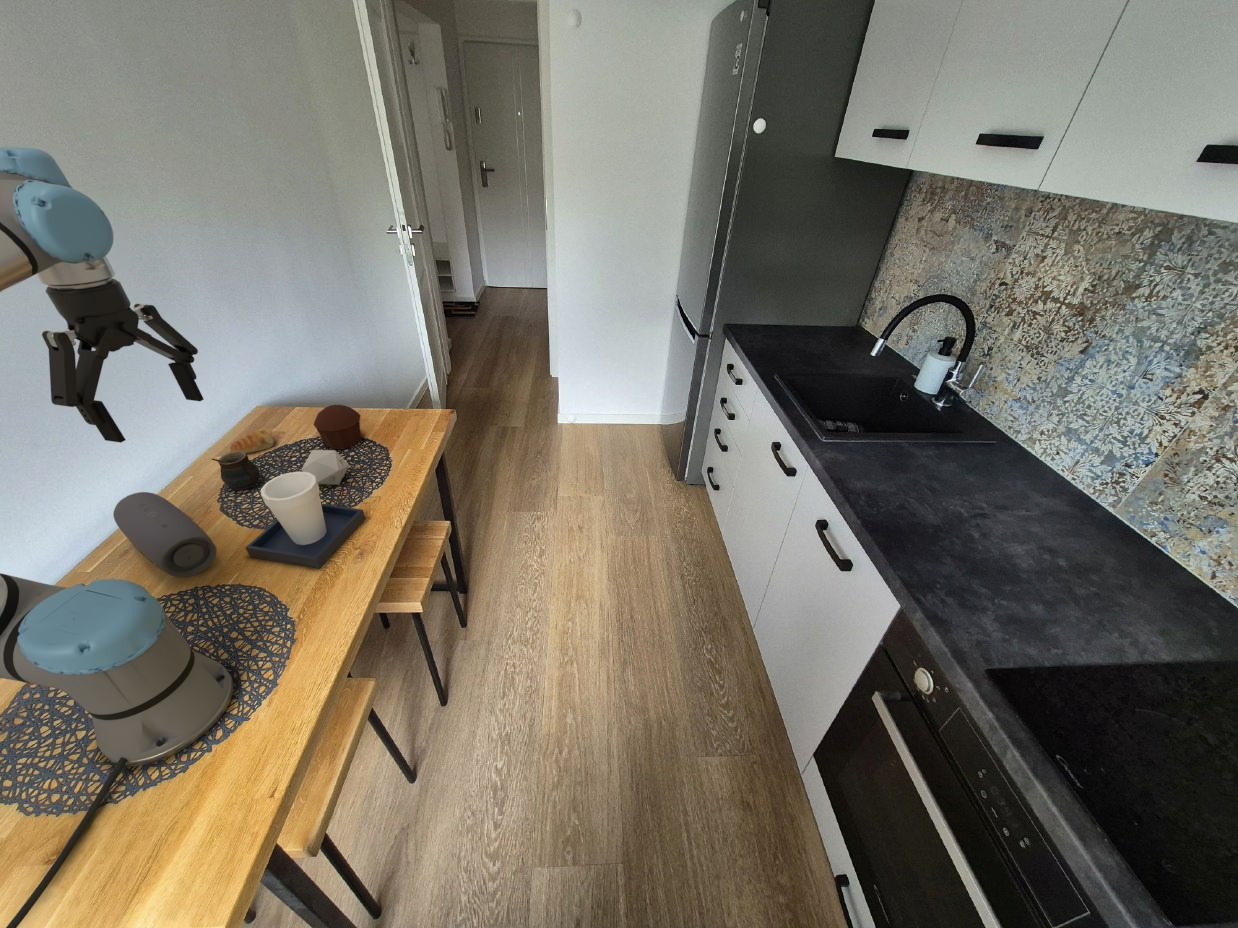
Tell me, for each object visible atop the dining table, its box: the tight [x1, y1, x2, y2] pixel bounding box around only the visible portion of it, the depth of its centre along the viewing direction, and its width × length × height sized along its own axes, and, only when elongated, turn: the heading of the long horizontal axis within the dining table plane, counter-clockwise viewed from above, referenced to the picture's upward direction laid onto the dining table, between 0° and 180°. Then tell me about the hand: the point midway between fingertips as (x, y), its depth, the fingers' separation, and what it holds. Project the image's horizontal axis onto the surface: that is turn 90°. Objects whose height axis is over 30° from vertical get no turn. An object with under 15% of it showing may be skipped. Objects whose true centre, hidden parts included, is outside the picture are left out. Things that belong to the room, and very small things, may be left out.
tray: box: [245, 503, 366, 569], centre depth 104 cm, size 15×15×3 cm
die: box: [301, 449, 350, 486], centre depth 118 cm, size 8×9×10 cm
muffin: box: [313, 404, 362, 450], centre depth 132 cm, size 12×11×10 cm
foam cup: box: [260, 471, 327, 545], centre depth 100 cm, size 10×9×13 cm
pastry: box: [230, 428, 275, 455], centre depth 130 cm, size 9×7×4 cm
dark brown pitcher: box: [211, 451, 261, 491], centre depth 115 cm, size 7×8×10 cm
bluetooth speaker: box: [113, 491, 218, 578], centre depth 96 cm, size 23×9×10 cm, turn 56°
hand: (158, 418), depth 79 cm, fingers open, 13 cm apart
